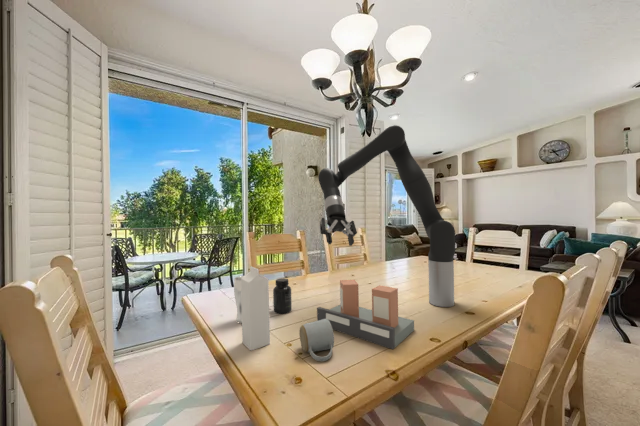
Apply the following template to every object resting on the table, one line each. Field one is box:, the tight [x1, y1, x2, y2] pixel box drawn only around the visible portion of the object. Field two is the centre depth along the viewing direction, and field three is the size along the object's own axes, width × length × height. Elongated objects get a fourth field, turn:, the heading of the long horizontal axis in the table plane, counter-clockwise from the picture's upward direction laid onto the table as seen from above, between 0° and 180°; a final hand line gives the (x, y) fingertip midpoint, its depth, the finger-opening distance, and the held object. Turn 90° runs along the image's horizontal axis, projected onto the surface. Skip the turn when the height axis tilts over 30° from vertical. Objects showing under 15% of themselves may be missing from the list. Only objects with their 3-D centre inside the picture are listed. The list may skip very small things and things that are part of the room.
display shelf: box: [316, 304, 415, 350], centre depth 88 cm, size 16×27×6 cm, turn 50°
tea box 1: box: [339, 279, 360, 318], centre depth 91 cm, size 5×6×11 cm
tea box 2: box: [371, 284, 399, 328], centre depth 82 cm, size 5×6×11 cm
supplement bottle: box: [272, 277, 293, 315], centre depth 104 cm, size 7×7×12 cm
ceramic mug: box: [298, 319, 335, 362], centre depth 73 cm, size 11×8×8 cm
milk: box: [241, 265, 271, 352], centre depth 79 cm, size 6×6×22 cm
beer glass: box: [233, 275, 244, 324], centre depth 96 cm, size 7×7×15 cm
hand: (341, 244), depth 101 cm, fingers open, 8 cm apart
